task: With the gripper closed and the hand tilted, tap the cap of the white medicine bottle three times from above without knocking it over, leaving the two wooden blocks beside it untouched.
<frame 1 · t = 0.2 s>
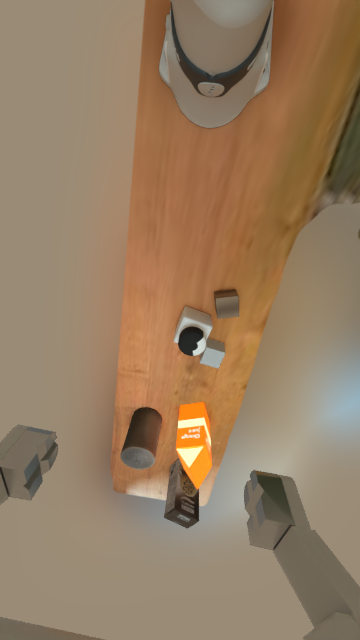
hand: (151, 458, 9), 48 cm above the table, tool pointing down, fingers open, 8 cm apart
medicine bottle: (193, 321, 59), on the table
walnut block: (225, 300, 56), on the table
grey painted block: (211, 347, 62), on the table
coffee box: (184, 466, 84), on the table
pillar candle: (147, 418, 75), on the table
orange juice: (194, 413, 73), on the table
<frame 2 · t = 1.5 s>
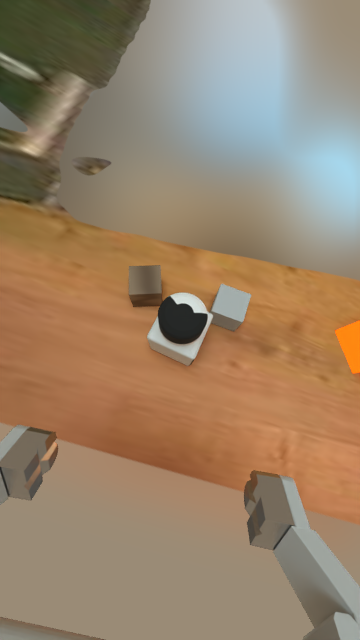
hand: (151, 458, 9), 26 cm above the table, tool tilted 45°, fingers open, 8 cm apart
medicine bottle: (178, 338, 38), on the table
walnut block: (147, 293, 41), on the table
grey painted block: (224, 313, 40), on the table
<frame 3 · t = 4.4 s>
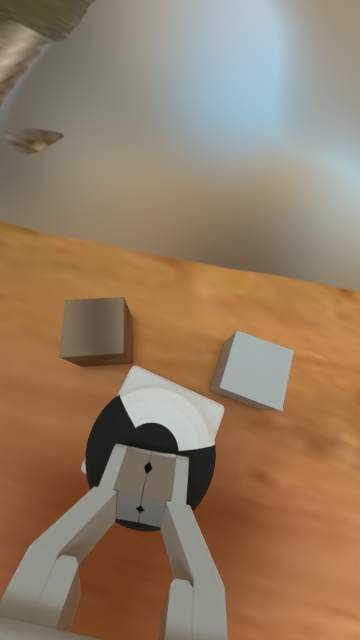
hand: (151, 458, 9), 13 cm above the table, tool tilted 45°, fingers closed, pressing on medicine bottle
medicine bottle: (160, 426, 21), on the table, touching gripper
walnut block: (108, 341, 24), on the table
grey painted block: (240, 375, 23), on the table
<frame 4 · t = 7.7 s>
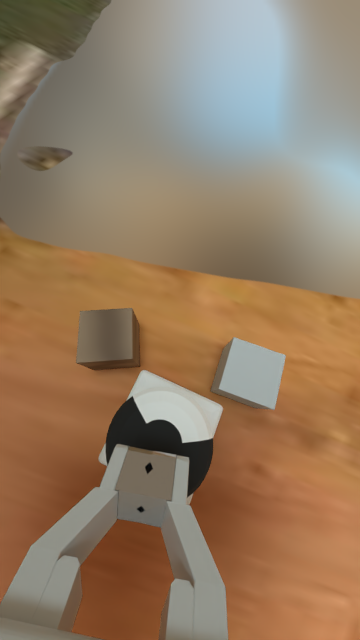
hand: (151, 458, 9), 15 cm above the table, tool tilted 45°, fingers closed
medicine bottle: (165, 423, 24), on the table
walnut block: (117, 346, 26), on the table
grey painted block: (238, 377, 25), on the table
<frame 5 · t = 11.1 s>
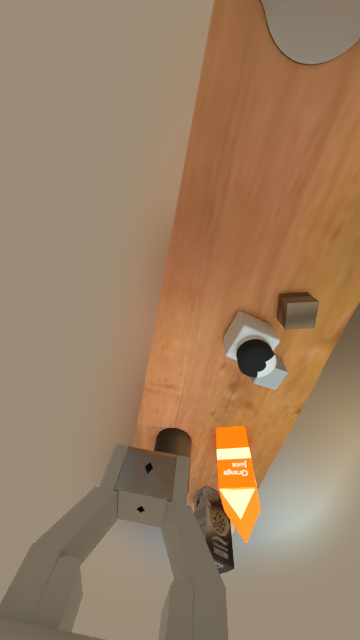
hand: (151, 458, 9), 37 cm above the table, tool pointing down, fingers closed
medicine bottle: (245, 330, 47), on the table
walnut block: (291, 305, 44), on the table
grey painted block: (264, 363, 50), on the table
coffee box: (211, 494, 73), on the table
pillar candle: (174, 439, 64), on the table
orange juice: (232, 437, 61), on the table
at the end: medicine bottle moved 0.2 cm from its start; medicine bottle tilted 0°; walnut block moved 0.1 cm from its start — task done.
